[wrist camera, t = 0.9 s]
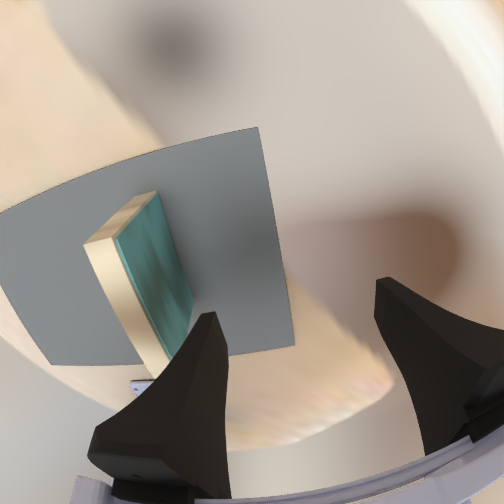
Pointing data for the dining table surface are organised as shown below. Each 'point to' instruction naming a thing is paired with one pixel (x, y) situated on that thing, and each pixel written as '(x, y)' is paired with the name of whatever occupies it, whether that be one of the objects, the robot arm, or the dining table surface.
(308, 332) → the dining table surface
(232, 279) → the rubber mat
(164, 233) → the birch tile
